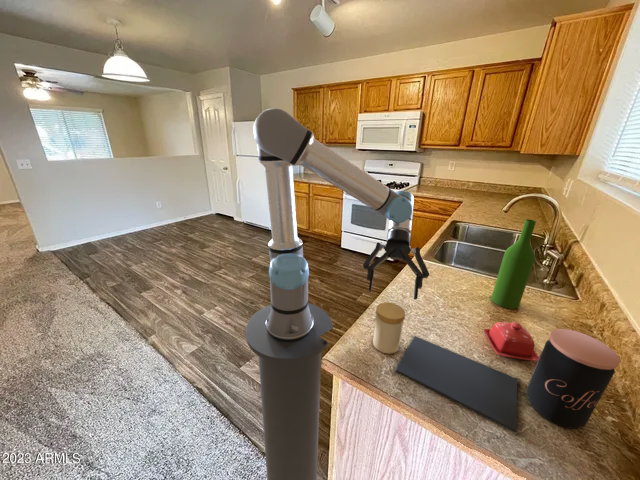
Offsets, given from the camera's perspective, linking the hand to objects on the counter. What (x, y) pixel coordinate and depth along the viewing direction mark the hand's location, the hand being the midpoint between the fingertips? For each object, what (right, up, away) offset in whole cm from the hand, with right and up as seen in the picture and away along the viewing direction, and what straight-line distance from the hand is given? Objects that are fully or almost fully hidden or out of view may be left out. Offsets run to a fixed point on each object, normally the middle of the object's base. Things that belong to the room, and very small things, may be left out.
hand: (392, 294), depth 81 cm
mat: (+13, -18, -13) cm, 26 cm away
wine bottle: (+49, -7, +20) cm, 53 cm away
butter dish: (+34, -15, -2) cm, 37 cm away
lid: (-2, -3, -7) cm, 8 cm away
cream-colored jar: (-3, -14, -3) cm, 15 cm away
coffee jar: (+31, -22, -20) cm, 43 cm away
